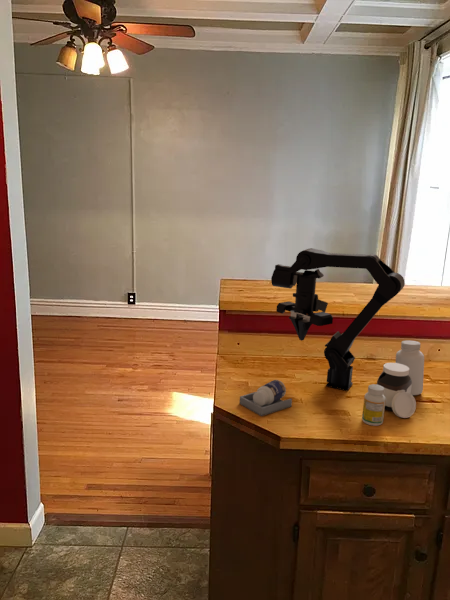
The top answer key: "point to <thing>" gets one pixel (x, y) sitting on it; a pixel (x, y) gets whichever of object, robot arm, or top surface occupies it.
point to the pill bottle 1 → (269, 393)
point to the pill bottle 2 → (412, 363)
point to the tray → (264, 410)
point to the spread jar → (397, 389)
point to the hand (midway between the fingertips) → (301, 340)
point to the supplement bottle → (374, 405)
